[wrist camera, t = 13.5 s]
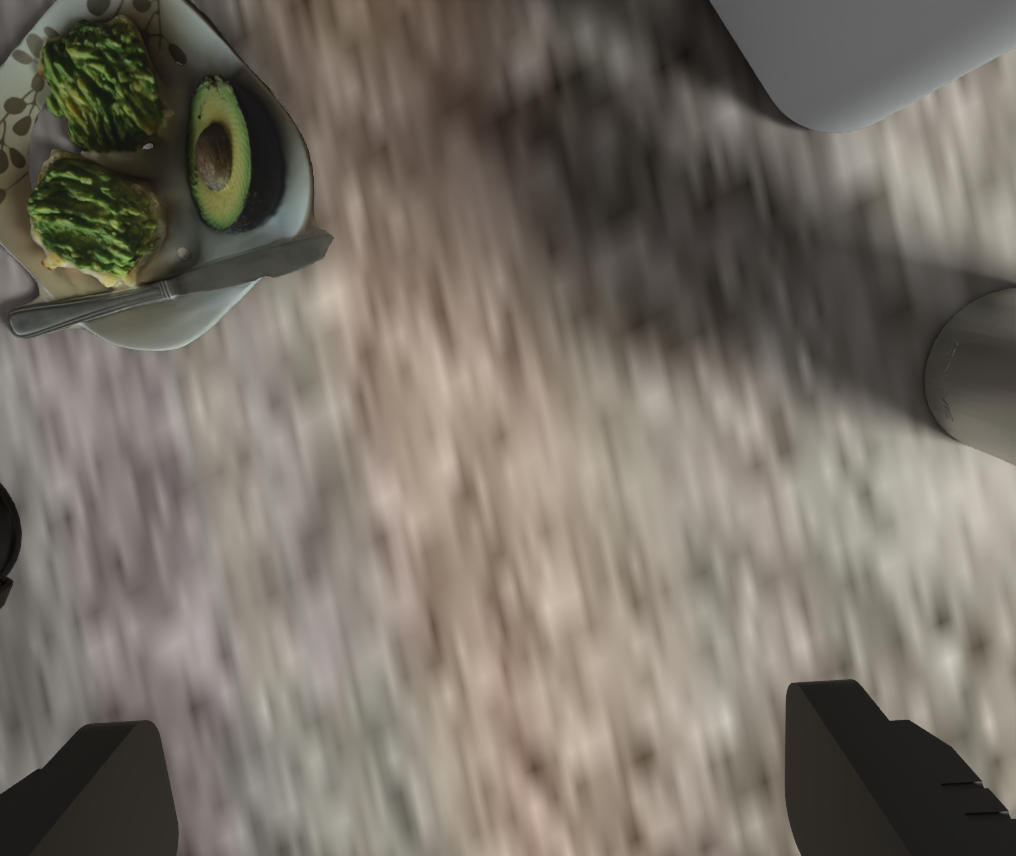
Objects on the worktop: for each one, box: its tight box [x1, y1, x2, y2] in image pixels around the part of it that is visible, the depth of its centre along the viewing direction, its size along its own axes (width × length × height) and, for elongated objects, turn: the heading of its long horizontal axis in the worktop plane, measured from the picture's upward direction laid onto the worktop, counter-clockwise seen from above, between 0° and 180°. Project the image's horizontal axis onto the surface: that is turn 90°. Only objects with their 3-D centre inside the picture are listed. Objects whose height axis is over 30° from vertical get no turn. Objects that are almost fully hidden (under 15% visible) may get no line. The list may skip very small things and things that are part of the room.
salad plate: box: [0, 0, 334, 351], centre depth 38 cm, size 19×18×5 cm
